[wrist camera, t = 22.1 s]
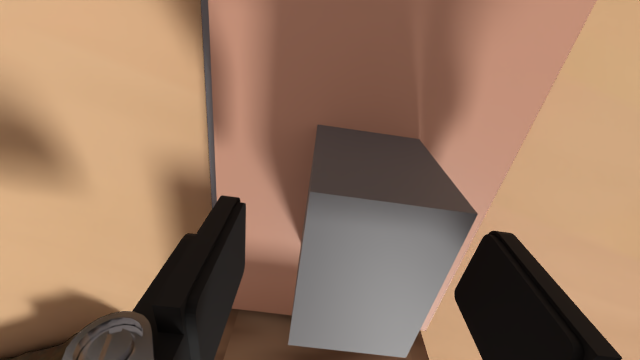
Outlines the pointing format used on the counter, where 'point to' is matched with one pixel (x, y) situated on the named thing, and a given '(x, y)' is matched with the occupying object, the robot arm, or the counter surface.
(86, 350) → the robot arm
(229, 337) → the toolbox
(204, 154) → the counter surface
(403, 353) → the lid
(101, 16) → the counter surface
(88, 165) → the counter surface
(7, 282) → the counter surface
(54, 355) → the black rough elongated piece
